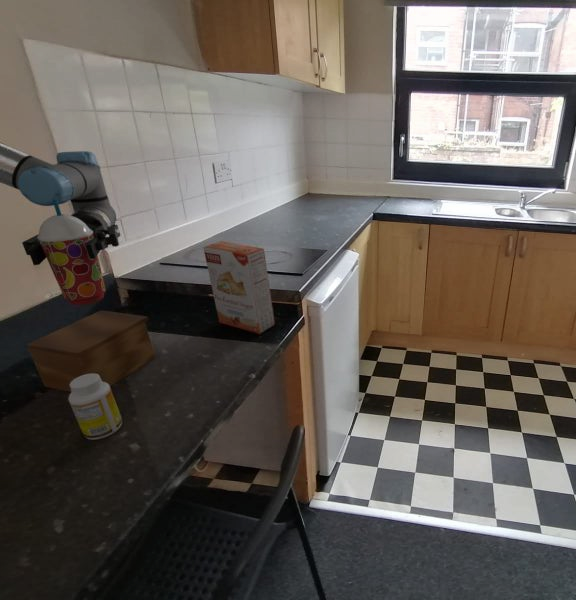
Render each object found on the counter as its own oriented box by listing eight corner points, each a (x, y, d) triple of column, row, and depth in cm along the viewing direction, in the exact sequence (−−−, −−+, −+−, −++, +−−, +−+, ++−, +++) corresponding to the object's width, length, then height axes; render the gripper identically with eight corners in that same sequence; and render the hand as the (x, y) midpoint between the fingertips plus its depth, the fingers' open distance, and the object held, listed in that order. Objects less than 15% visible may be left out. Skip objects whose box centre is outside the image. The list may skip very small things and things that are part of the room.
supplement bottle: (110, 415, 72) (92, 367, 68) (130, 424, 70) (113, 374, 66) (76, 435, 67) (54, 385, 63) (97, 445, 65) (76, 394, 61)
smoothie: (77, 292, 85) (45, 196, 77) (119, 291, 86) (92, 196, 78) (51, 309, 77) (12, 204, 69) (97, 307, 78) (64, 204, 70)
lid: (102, 313, 90) (101, 310, 89) (148, 320, 87) (147, 316, 86) (27, 348, 76) (26, 344, 76) (80, 357, 73) (78, 353, 73)
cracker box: (217, 324, 104) (201, 246, 95) (235, 315, 109) (221, 239, 100) (259, 335, 98) (245, 253, 90) (276, 325, 103) (264, 246, 95)
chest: (110, 349, 92) (98, 315, 89) (155, 357, 90) (145, 321, 86) (44, 386, 80) (27, 348, 76) (95, 396, 77) (80, 357, 73)
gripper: (143, 238, 97) (133, 266, 79) (37, 248, 89) (-3, 282, 71) (135, 206, 94) (123, 228, 76) (24, 214, 86) (-21, 241, 67)
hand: (62, 254), depth 73 cm, fingers closed on smoothie, 8 cm apart
